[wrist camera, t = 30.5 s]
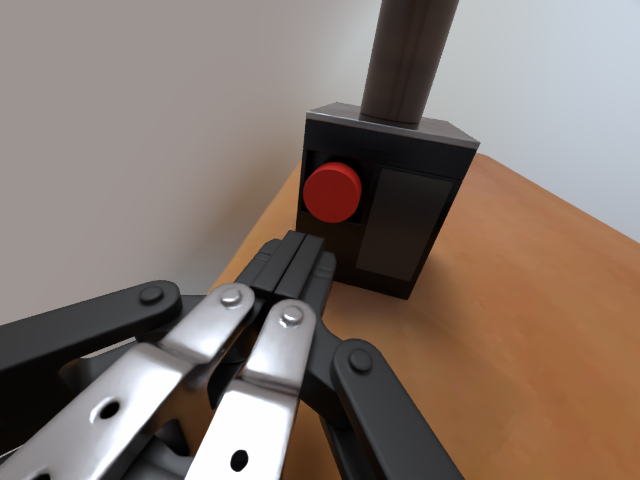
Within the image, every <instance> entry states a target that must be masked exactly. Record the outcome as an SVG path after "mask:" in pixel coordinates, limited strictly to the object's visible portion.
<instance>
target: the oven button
mask: <svg viewBox="0 0 640 480" xmlns="http://www.w3.org/2000/svg"><path fill="white" fill-rule="evenodd" d="M361 191H362V187H361V181H360V179H359V177H358V175H357V173H356V172H355V171H354V170H353V169H352V168H351V167H349V166H348V165H346V164H343V163H340V162H329V163H325V164H323V165H321V166H320V167H318V168H317V169H316V170H315V171H314V173H313V174H312V175H311V176H310V177H309V178H308V180H307V181H306V183H305V186H304V189H303V198H304V202H305V205H306V207H307V209H308V210H309V211H310V212H311V214H312V215H314V216H315V217H316V218H318V219H320V220H322V221H325V222H330V223H336V222H341V221H344V220H346V219H348V218H349V217H350V216H351V215H352V214H353V213H354V212H355V210H356V209H357V206H358V203H359V200H360V196H361Z"/></svg>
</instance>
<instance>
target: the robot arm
mask: <svg viewBox="0 0 640 480" xmlns="http://www.w3.org/2000/svg"><path fill="white" fill-rule="evenodd" d="M324 245H325V238H321V237H317V236H313V235H307V234H304V233H300V232H296V231H292V230H289V231H288V233H287V234H286V236H285V237H284V238H283V240H279V239H273V240H271V241H269V242H267V243H265V244H264V245H263V247H262V248H261V249H260V250H259V252H258V253H257V254H256V255H255V256H254V258H253V259H252V260H251V261H250V263H249V264H248V265H247V266H246V267H245V269H244V270H243V271H242V272H241V274H240V275H239V276H238V277H237V278H236V280H235V281H234V282H233V283H226V284H223V285H220V286H218V287H216V288H215V289H213V290H212V291H211V292H210V293H209V294H208V295H180V291H179V288H178V286H177V285H176V284H174V283H173V282H170V281H165V280H158V281H151V282H147V283H144V284H140V285H137V286H134V287H130V288H127V289H123V290H120V291H117V292H113V293H110V294H106V295H103V296H100V297H96V298H93V299H89V300H86V301H82V302H80V303H76V304H72V305H69V306H65V307H62V308H59V309H55V310H52V311H48V312H45V313H42V314H38V315H35V316H31V317H28V318H25V319H21V320H18V321H15V322H11V323H8V324H4V325H1V326H0V456H1V455H3V454H5V453H7V452H9V451H11V450H13V449H15V448H17V447H19V446H21V445H23V444H24V445H23V446H22V447H21V448H19V449H17V450H15V451H13V452H11V453H9V454H7V455H5V456H3V457H1V458H0V480H283V477H284V472H285V468H286V463H287V458H288V454H289V449H290V444H291V439H292V435H293V430H294V426H295V421H296V417H297V412H298V408H299V403H300V399H301V400H302V401H304V402H305V403H306V404H307V405H308V406H310V407H311V408H312V409H313V410H314V411H316V412H317V413H318V414H319V418H320V422H321V424H322V427H323V430H324V432H325V435H326V438H327V440H328V443H329V446H330V448H331V451H332V454H333V456H334V459H335V462H336V464H337V467H338V470H339V472H340V475H341V478H342V480H465V479H464V477H463V476H462V474H461V473H460V471H459V470H458V468H457V467H456V465H455V464H454V462H453V461H452V459H451V458H450V456H449V455H448V453H447V452H446V450H445V449H444V447H443V446H442V444H441V443H440V441H439V440H438V438H437V437H436V435H435V434H434V432H433V431H432V429H431V428H430V426H429V425H428V423H427V422H426V420H425V419H424V417H423V416H422V414H421V413H420V411H419V410H418V408H417V407H416V405H415V403H414V402H413V400H412V399H411V397H410V396H409V394H408V393H407V391H406V390H405V388H404V387H403V385H402V384H401V382H400V381H399V379H398V378H397V376H396V375H395V373H394V372H393V370H392V369H391V367H390V366H389V364H388V363H387V361H386V360H385V358H384V357H383V355H382V354H381V352H380V351H379V350H378V349H377V348H376V347H375V346H374V345H372V344H371V343H369V342H367V341H365V340H361V339H347V340H345V341H343V340H341V339H340V338H338V337H337V336H335V335H334V334H332V333H331V332H330V331H329V330H328V329H327V328H326V326H325V325H324V323H323V321H322V317H323V314H324V310H325V307H326V304H327V300H328V297H329V294H330V291H331V286H332V282H333V277H334V273H335V268H336V263H337V262H336V258H335V255H334V253H330V252H326V251H324ZM134 336H135V338H136V340H135V341H133V342H130V343H128V344H125V345H123V346H120V347H118V348H115V349H113V350H110V351H107V352H105V353H103V354H100V355H98V356H95V357H92V358H80V357H82V356H85V355H88V354H90V353H93V352H95V351H98V350H100V349H103V348H105V347H108V346H111V345H113V344H116V343H118V342H121V341H124V340H126V339H129V338H131V337H134Z"/></svg>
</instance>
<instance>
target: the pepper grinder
mask: <svg viewBox="0 0 640 480" xmlns="http://www.w3.org/2000/svg"><path fill="white" fill-rule="evenodd" d="M458 2H459V0H382V4H381V8H380V13H379V18H378V24H377V29H376V34H375V39H374V44H373V49H372V54H371V59H370V64H369V69H368V75H367V79H366V84H365V90H364V94H363V100H362V104H361V109H360V112H361V113H362V114H365V115H368V116H371V117H375V118H380V119H385V120H390V121H396V122H404V123H420V121H421V117H422V114H423V111H424V108H425V105H426V102H427V99H428V96H429V92H430V89H431V86H432V83H433V80H434V77H435V74H436V71H437V68H438V65H439V61H440V58H441V55H442V52H443V49H444V46H445V43H446V40H447V37H448V33H449V30H450V27H451V24H452V21H453V18H454V15H455V11H456V9H457V6H458Z"/></svg>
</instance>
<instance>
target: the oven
mask: <svg viewBox="0 0 640 480" xmlns="http://www.w3.org/2000/svg"><path fill="white" fill-rule="evenodd" d="M360 109H361V106H355V105H350V104H344V103H338V102H336V103H333V104H329V105H326V106H323V107H320V108H316V109H313V110H310V111H307V113H306V118H307V119H306V124H305V134H304V145H303V148H304V149H303V155H302V165H301V176H300V187H299V198H298V208H297V209H298V210H297V220H296V232H300V233H304V234H307V235H313V236H317V237H321V238H325V245H324V251H326V252H330V253H334V255H335V258H336V262H337V263H336V268H335V273H334V277H333V280H334V281H338V282H342V283H345V284H349V285H353V286H357V287H360V288H364V289H368V290H372V291H376V292H379V293H383V294H387V295H391V296H394V297H398V298H402V299H406V300H408V299H409V297H410V294H411V292H412V290H413V288H414V286H415V284H416V281H417V279H418V277H419V275H420V273H421V271H422V268H423V266H424V264H425V262H426V260H427V258H428V255H429V253H430V251H431V249H432V247H433V245H434V242H435V240H436V238H437V236H438V234H439V232H440V229H441V227H442V225H443V223H444V221H445V219H446V216H447V214H448V212H449V210H450V208H451V206H452V203H453V201H454V199H455V197H456V195H457V193H458V190H459V188H460V186H461V184H462V182H463V181H462V180H464V177H465V175H466V173H467V171H468V169H469V167H470V164H471V162H472V160H473V158H474V156H475V154H476V151H477V149H478V147H479V145H480V142H479V141H477V140H476V139H474V138H472V137H471V136H469V135H468V134H466V133H464V132H463V131H461V130H460V129H458V128H457V127H455V126H454V125H452V124H450V123H449V122H447V121H442V120H437V119H431V118H425V117H421V121H420V123H404V122H396V121H390V120H385V119H380V118H375V117H371V116H368V115H365V114H362V113H361V112H360ZM329 162H340V163H343V164H346V165H348V166H349V167H351V168H352V169H353V170H354V171H355V172H356V173H357V175H358V177H359V179H360V181H361V187H362V191H361V196H360V200H359V203H358V206H357V209H356V210H355V212H354V213H353V214H352V215H351V216H350V217H349V218H348V219H346V220H344V221H341V222H336V223H330V222H325V221H322V220H320V219H318V218H316V217H315V216H314V215H312V214H311V212H310V211H309V210H308V209H307V207H306V205H305V202H304V198H303V189H304V186H305V183H306V181H307V180H308V178H309V177H310V176H311V175H312V174H313V173H314V171H315V170H316V169H317V168H318V167H320V166H321V165H323V164H325V163H329Z"/></svg>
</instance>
